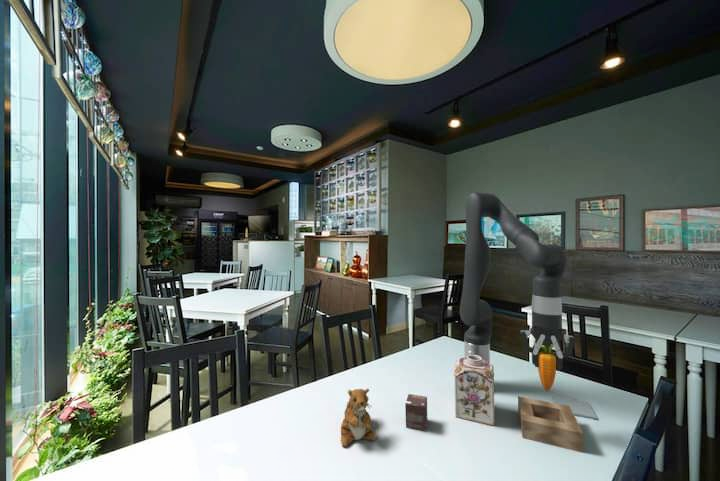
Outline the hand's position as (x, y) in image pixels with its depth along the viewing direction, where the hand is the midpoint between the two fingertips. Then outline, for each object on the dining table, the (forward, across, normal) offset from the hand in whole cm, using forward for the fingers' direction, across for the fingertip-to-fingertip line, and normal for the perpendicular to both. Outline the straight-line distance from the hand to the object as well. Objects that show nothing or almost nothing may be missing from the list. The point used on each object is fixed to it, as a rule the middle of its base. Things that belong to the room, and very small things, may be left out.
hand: (546, 367), depth 84 cm
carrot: (+7, 0, 0) cm, 7 cm away
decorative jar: (+19, -20, +1) cm, 28 cm away
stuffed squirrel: (+19, -52, -24) cm, 60 cm away
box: (+19, -36, -13) cm, 43 cm away
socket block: (+18, 0, 0) cm, 18 cm away
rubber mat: (+18, +10, +17) cm, 27 cm away
